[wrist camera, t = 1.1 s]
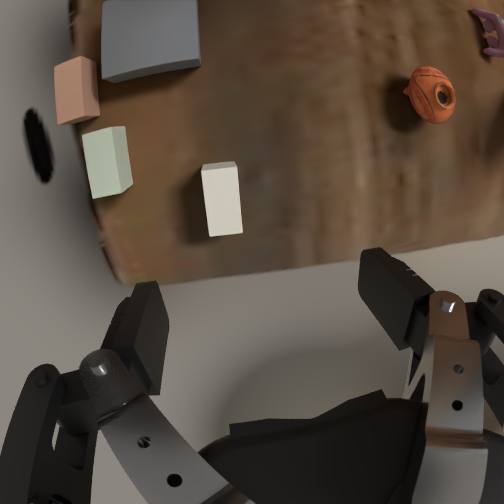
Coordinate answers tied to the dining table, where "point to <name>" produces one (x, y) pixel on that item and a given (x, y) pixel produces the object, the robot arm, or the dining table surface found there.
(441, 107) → the pot
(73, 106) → the terracotta brick
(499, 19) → the video game controller
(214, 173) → the cream brick
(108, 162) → the sage brick
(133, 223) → the dining table surface
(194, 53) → the charcoal block
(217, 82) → the dining table surface
